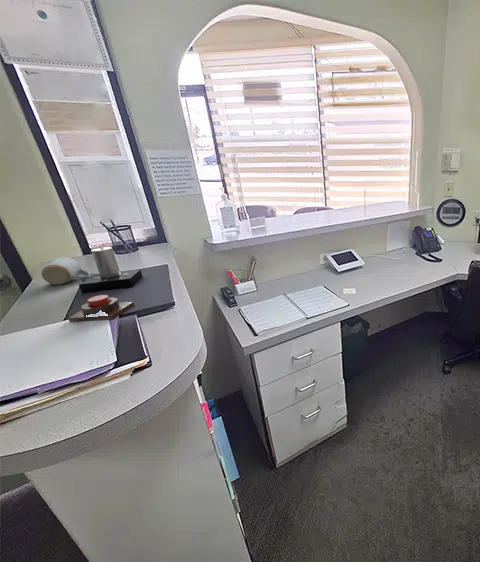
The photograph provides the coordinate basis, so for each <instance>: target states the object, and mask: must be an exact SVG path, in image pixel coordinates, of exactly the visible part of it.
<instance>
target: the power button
mask: <svg viewBox="0 0 480 562" xmlns="http://www.w3.org/2000/svg"><path fill="white" fill-rule="evenodd" d="M86 301H87V303H88V304H89V306H90V307H97V306H102V305H105V304H108V303H109V302H110V300H109V295H108V294H99V295H95V296H92V297H89V298H88V299H87V300H86Z"/></svg>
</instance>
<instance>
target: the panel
mask: <svg viewBox="0 0 480 562" xmlns="http://www.w3.org/2000/svg"><path fill="white" fill-rule="evenodd" d="M120 273H121V275H120V276H117V277H114V278H109V279H102V278H101V276H100V273H93V274H91V275H90V277H89V278H88V279H86V280H82V281H81V282H80V283H79V284H78V287H79V290H80V292H81V294H89V293H97V292H105V291H114V290H123V289H130V288H129V287H132V288H133V287H135V286H136V285H137V284H138V283H139V282H140V281H141V280H142V279H143V278H144V276H143V273H142V269H141V268H138V269H127V270H120ZM142 277H143V278H142ZM141 278H142V279H141ZM140 279H141V280H140ZM139 280H140V281H139Z"/></svg>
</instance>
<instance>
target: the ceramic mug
mask: <svg viewBox="0 0 480 562" xmlns="http://www.w3.org/2000/svg"><path fill="white" fill-rule="evenodd" d="M80 275H82V276H80ZM91 276H92V274H91V272H90V271H87V270H85V269H82V266H81V264H80V263H79V262H78V261H77V260H76V259H73V258H71V257H67V256H61V257H56V258H55V259H54V260H52V261H50V262H49V263H48V264H46V265H45V266H44V267H43V268H42V270H41V277H42V279H43V280H44V281H45V282H47V283H48V284H50V285H55V286H57V285H58V286H60V285H65V284H67V283H69V282H71V281H72V280H73V281H81V282H83V281H85V280H86V279H88V278H89V277H91Z"/></svg>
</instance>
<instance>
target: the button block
mask: <svg viewBox="0 0 480 562" xmlns="http://www.w3.org/2000/svg"><path fill="white" fill-rule="evenodd" d="M108 297H109V296H108ZM109 300H110V302H109V303H108V304H105V305H102V306H97V307H90V306H89V304H88V302H86V303H84V304H82V305H81V307H80V311H78V312H76V313H74V314H73V315H71V316H69V317H67V320H68V322H69V323H76V322H94V321H95V322H96V321H97V322H98V321H113V320H115V319H116V318H118V317H119V316H121V315H123V314H124V313H125V312H128V310H130V309H132V308H136V305H135V303H134V301H124V302H122V301H121V302H120V301H119V299H118V297H113V296H112V297H111V296H110V297H109ZM100 310H101V311H102V312H105V313H106V314H108V316H98V317H86V315H87V316H88V315H90V314H96V313H98V312H99V311H100Z"/></svg>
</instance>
